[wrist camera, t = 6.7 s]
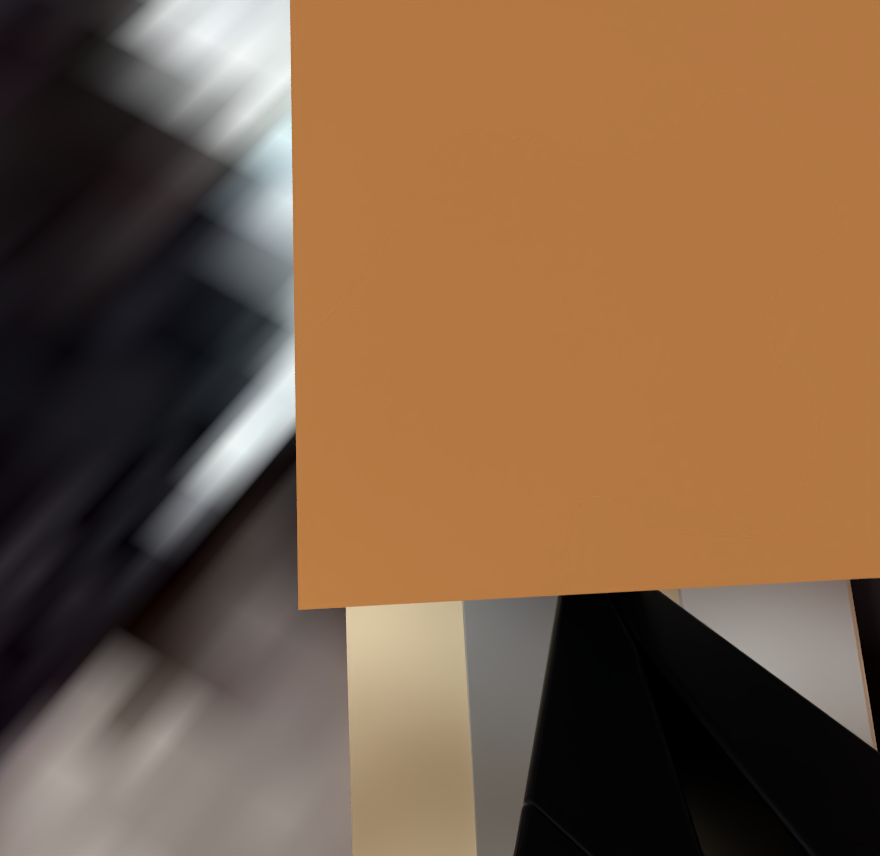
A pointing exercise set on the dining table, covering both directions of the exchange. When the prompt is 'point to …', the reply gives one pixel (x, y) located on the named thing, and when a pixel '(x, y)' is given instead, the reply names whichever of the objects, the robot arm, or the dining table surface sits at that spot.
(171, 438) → the dining table surface
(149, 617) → the dining table surface
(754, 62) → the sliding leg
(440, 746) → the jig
